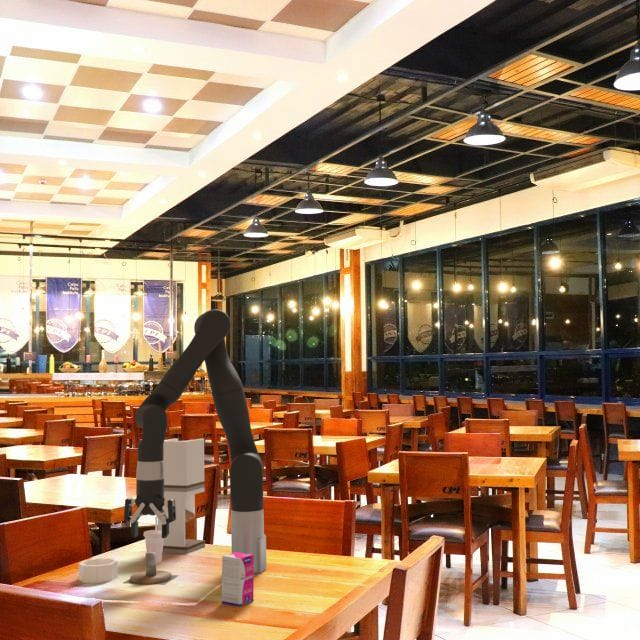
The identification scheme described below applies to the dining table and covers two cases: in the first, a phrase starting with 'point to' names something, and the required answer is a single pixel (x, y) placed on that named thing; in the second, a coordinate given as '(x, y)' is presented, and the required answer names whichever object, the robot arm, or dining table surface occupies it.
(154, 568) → the lid
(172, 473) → the white coffee maker
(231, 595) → the supplement box
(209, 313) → the robot arm
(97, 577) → the bowl
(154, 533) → the smoothie
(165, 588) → the dining table surface
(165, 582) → the mat
